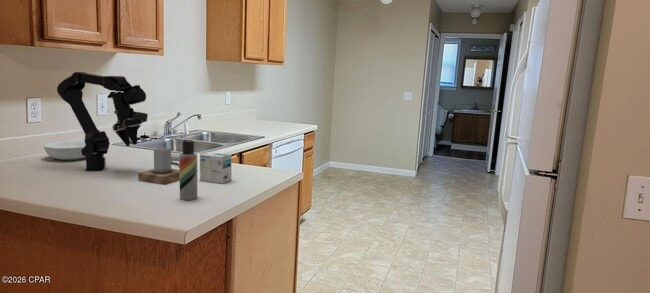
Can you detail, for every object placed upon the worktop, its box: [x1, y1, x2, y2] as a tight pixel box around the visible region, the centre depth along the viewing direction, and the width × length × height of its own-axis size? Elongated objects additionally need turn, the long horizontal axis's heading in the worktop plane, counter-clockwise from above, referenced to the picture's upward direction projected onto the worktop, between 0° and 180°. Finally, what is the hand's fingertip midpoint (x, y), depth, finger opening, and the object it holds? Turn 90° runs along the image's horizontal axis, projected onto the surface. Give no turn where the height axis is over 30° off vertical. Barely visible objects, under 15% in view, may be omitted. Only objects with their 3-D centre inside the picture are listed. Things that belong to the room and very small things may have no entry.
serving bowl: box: [43, 140, 86, 161], centre depth 203 cm, size 21×21×7 cm
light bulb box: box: [199, 151, 232, 184], centre depth 173 cm, size 11×7×11 cm, turn 71°
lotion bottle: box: [178, 139, 198, 201], centre depth 147 cm, size 6×6×20 cm
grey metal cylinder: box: [171, 152, 181, 162], centre depth 201 cm, size 5×7×25 cm
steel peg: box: [153, 147, 172, 174], centre depth 171 cm, size 4×4×12 cm
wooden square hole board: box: [137, 168, 180, 186], centre depth 172 cm, size 12×12×3 cm
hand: (131, 145), depth 177 cm, fingers open, 9 cm apart
